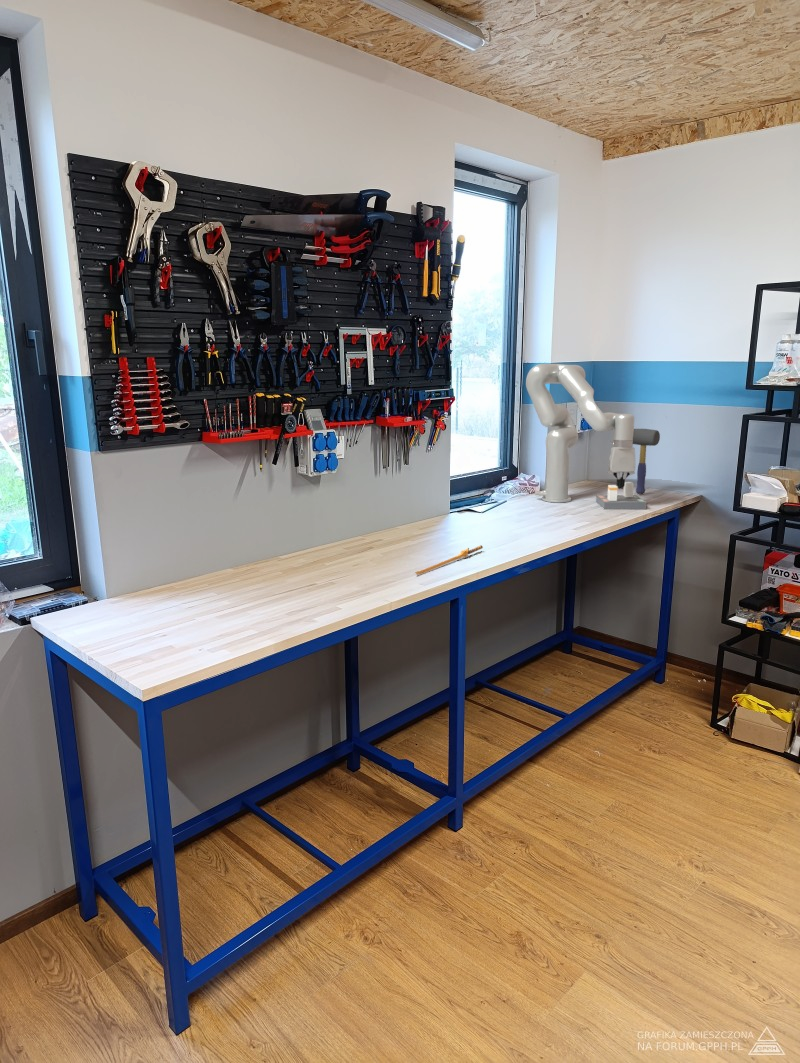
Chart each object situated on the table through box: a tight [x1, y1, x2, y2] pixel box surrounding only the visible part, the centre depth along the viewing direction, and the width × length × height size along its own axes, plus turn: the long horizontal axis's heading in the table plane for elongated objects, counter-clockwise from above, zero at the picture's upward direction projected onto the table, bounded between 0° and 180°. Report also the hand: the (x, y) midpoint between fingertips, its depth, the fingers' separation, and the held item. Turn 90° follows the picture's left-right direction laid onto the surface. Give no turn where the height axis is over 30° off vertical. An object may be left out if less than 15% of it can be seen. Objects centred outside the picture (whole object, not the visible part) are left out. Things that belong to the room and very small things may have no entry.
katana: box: [414, 545, 484, 576], centre depth 221 cm, size 1×35×3 cm, turn 141°
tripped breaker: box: [607, 484, 619, 501], centre depth 300 cm, size 3×4×6 cm
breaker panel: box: [595, 481, 647, 510], centre depth 304 cm, size 17×16×9 cm
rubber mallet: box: [633, 428, 661, 496], centre depth 326 cm, size 12×8×30 cm, turn 46°
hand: (620, 488), depth 300 cm, fingers closed
